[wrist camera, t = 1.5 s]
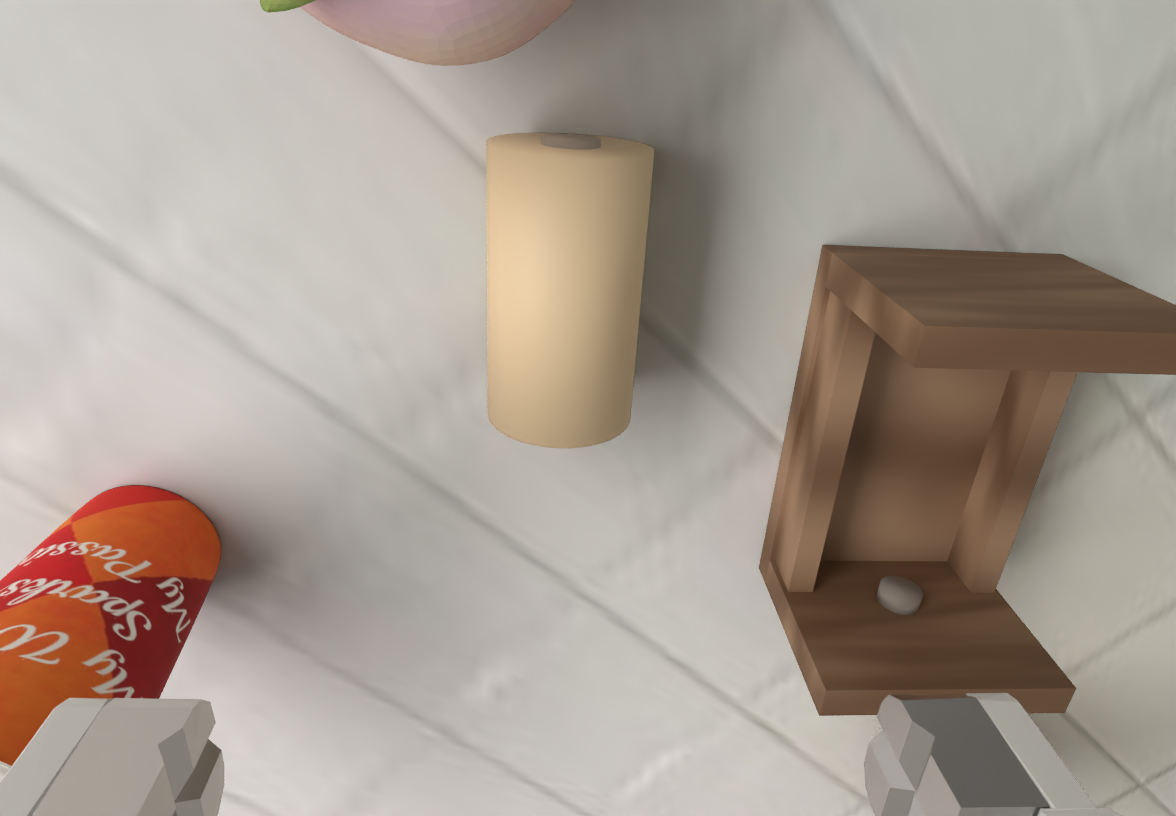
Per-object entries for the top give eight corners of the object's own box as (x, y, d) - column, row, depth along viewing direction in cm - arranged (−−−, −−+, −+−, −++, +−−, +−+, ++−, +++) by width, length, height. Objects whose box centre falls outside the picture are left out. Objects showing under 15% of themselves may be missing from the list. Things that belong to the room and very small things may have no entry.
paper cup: (273, 503, 31) (93, 837, 18) (220, 636, 33) (35, 1001, 21) (64, 430, 29) (-297, 749, 16) (28, 578, 31) (-302, 945, 19)
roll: (481, 123, 24) (493, 148, 20) (632, 129, 25) (676, 153, 21) (483, 389, 29) (493, 457, 24) (612, 385, 30) (645, 449, 25)
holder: (822, 245, 27) (925, 325, 20) (1062, 254, 28) (1244, 335, 21) (758, 567, 34) (819, 715, 27) (954, 568, 34) (1064, 712, 27)
